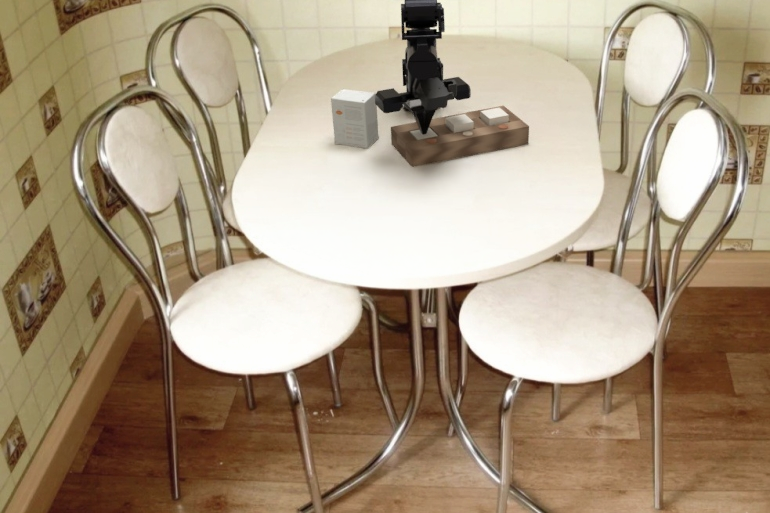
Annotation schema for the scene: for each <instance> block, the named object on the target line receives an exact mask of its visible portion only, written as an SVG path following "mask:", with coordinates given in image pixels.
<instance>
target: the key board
mask: <svg viewBox="0 0 770 513" xmlns="http://www.w3.org/2000/svg"><path fill="white" fill-rule="evenodd" d="M494 108H501V109H502V110H503V111H504V112H506V113H507V114H508V115H509V122H508V123H503V124H498V125H493V126H488V125H487V124H486V123H484V122H483V121H482V120H481V119H480V113H481V111H484V110H489V109H494ZM463 114H465V115H466V116H468V117H469V118H470V119H471V120H472V121H473V122H474V129H472V130H467V131H462V132H457V133H452V132H451V131H450V130H449V129H448V128H447V127H446V121H445V118H447V117H452V116H457V115H463ZM429 128H430V129H431V130H432V131H433V132H434V133H436V134H437V135H438V136H436V137H431V138H426V139H421V140H416V139H415V138H414V137H413V136H412V135H411V134H410V131H415V130H420V129H419V127H418V125H417V122H416V121H414V122H410V123H404V124H399V125H392V126H390V139H391V143H390V144H391V146H392V147H393V148H394V149H395V150H396V151H397V152H398V153H399V155H401V157H402V158H403V159H404V160H405V161H406V163H408V164H409V165H410V167H411V168H416V167H421V166H425V165H431V164H435V163H441V162H445V161H450V160H455V159H459V158H460V159H461V158H464V157H470V156H475V155H479V154H485V153H490V152H495V151H500V150H505V149H509V148H516V147H519V146H525V145H529V139H530V136H529V134H530V125H528V124H527V123H526V122H524V121H523V120H522V119H521V118H520V117H518V116H517V115H516V114H515V113H513V112H512V111H511V110H510V109H508V108H507V107H506V106H505V105H499V106H493V107H488V108H483V109H479V110H473V111H468V112H462V113H458V114H456V113H455V114H451V115H447V116H446V115H445V116H441V117H435V118H432V120H431V123H430V125H429Z"/></svg>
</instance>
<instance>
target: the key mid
mask: <svg viewBox="0 0 770 513" xmlns="http://www.w3.org/2000/svg"><path fill="white" fill-rule="evenodd" d="M445 121H446V127H447V128H448V129H449V130H450V131H451V132H452V133H457V132H462V131H467V130H472V129H474V122H473V121H472V120H471V119H470V118H469V117H468V116H466V115H465V114H463V115H457V116H452V117H447V118H445Z"/></svg>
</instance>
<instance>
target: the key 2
mask: <svg viewBox="0 0 770 513" xmlns="http://www.w3.org/2000/svg"><path fill="white" fill-rule="evenodd" d="M480 119H481V120H482V121H483V122H484V123H486V124H487V125H488V126H493V125H498V124H503V123H508V122H509V115H508V114H507V113H506V112H504V111H503V110H502V109H501V108H494V109H489V110H484V111H481V113H480Z"/></svg>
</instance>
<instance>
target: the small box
mask: <svg viewBox="0 0 770 513" xmlns="http://www.w3.org/2000/svg"><path fill="white" fill-rule="evenodd" d="M376 93H377V92H372V91H371V92H370V91H361V90H354V89H346V88H345V89H344V88H343V89H341V90H340V91H339V92H337V93H335V95H334V96H332V97H331V98H330V102H331V104H330V105H331V114H332V126H333V135H334V138H333V139H334V144H336V145H341V146H348V147H353V148H354V147H357V148H362V149H369V148H370V147H372V145H374V143H375V142H376V141H377V140H379V137H380V136H379V124H378V123H379V122H378V106H377V105H376V104H375V95H376Z"/></svg>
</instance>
